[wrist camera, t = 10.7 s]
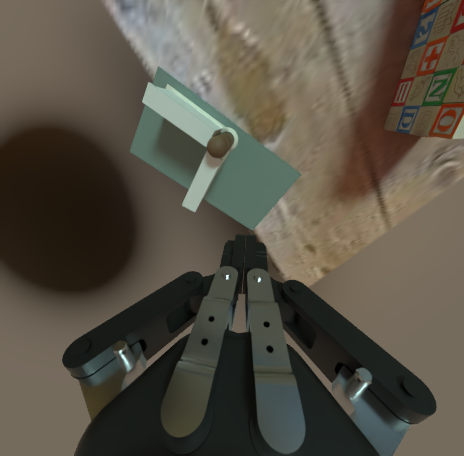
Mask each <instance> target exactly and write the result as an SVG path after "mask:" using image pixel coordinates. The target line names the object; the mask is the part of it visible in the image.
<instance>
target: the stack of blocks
mask: <svg viewBox="0 0 464 456" xmlns="http://www.w3.org/2000/svg"><path fill="white" fill-rule="evenodd" d="M384 130H386V131H393V132H401V133H407V134H411V135H416V136H422V137H441V138H447V139H464V0H425V2H424V6H423V9H422V12H421V18H420V20H419V23H418V26H417V29H416V32H415V36H414V39H413V42H412V45H411V48H410V52H409V55H408V58H407V61H406V64H405V67H404V70H403V73H402V76H401V80H400V81H399V84H398V87H397V90H396V93H395V96H394V99H393V102H392V105H391V108H390V111H389V114H388V117H387V120H386V123H385V126H384Z"/></svg>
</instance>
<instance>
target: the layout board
mask: <svg viewBox="0 0 464 456" xmlns="http://www.w3.org/2000/svg"><path fill="white" fill-rule="evenodd" d="M153 85H154V86H156V87H160V88H164V89H167V90H171V91H173V92H174V93H176V94H177V95H179V96H180V97H181V98H183V99H184V100H185V101H187V102H188V103H189V104H191V105H192V106H193V107H195V108H196V109H197V110H199V111H200V112H201V113H203V114H204V115H205V116H207V117H208V118H210V119H211V120H212V121H214V122H215V123H216V124H218V125H219V126H220V127H222V130H221V132H220V134H221V133H223V132H226V131H228V132H231V133H232V134H233V136H234V143H233V145H232V146H231V147H230V148H229V150H228V152H227V154H226V156H225V158H224V160H223V162H222V164H221V166H220V168H219V170H218V171H217V173H216V175H215V177H214V179H213V181H212V183H211V185H210V187H209V189H208V191H207V193H206V195H205V196H204V198H203V199H204V200H205V201H207V202H208V203H210V204H212V205H213V206H215V207H216V208H218V209H219V210H221V211H222V212H224V213H226V214H227V215H229V216H230V217H232V218H234V219H235V220H236V221H238V222H239V223H241V224H243V225H244V226H246V227H247V228H249V229H250V230H253V229H254V228H255V227H256V226H257V225H258V224H259V222H260V221H261V220H262V219H263V218H264V217H265V215H266V214H267V213H268V212H269V211H270V210H271V209H272V207H273V206H274V205H275V204H276V203H277V202H278V201H279V199H280V198H281V197H282V196H283V195H284V194H285V192H286V191H287V190H288V189H289V188H290V187H291V186H292V184H293V183H294V182H295V181H296V180H297V179H298V178H299V176H300V175H301V174H300V173H299V172H297V171H296V170H295V169H293V168H292V167H291V166H289V165H288V164H287V163H285V162H284V161H283V160H281V159H280V158H279V157H277V156H276V155H275V154H274V153H272V152H271V151H270V150H268V149H267V148H266V147H264V146H263V145H262V144H260V143H259V142H258V141H256V140H255V139H254V138H252V137H251V136H250V135H248V134H247V133H246V132H244V131H243V130H242V129H240V128H239V127H238V126H237V125H235V124H234V123H233V122H231V121H230V120H229V119H227V118H226V117H225V116H223V115H222V114H221V113H219V112H218V111H217V110H215V109H214V108H213V107H211V106H210V105H209V104H207V103H206V102H205V101H203V100H202V99H201V98H200V97H198V96H197V95H196V94H194V93H193V92H192V91H190V90H189V89H188V88H186V87H185V86H184V85H182V84H181V83H180V82H178V81H177V80H176V79H174V78H173V77H172V76H170V75H169V74H168V73H166V72H165V71H164V70H163V69H161V68H160V67H158V69H157V72H156V75H155V78H154V81H153ZM206 151H207V147H205V146H204V145H202V144H201V143H200V142H198V141H197V140H195V139H194V138H192V137H191V136H190V135H188V134H187V133H185V132H184V131H183V130H181V129H180V128H178V127H177V126H175V125H174V124H173V123H171V122H170V121H168V120H167V119H165V118H164V117H163V116H161V115H160V114H158V113H157V112H156V111H154V110H153V109H151V108H150V107H148V106H147V105H146V104H145V107H144V110H143V113H142V116H141V120H140V122H139V125H138V128H137V131H136V134H135V137H134V140H133V143H132V146H131V149H130V152H131V153H132V154H134V155H135V156H137V157H139V158H140V159H142V160H143V161H145V162H146V163H148V164H149V165H151V166H153V167H154V168H156V169H157V170H159V171H160V172H162V173H163V174H165V175H166V176H168V177H170V178H171V179H173V180H174V181H176V182H177V183H179V184H181V185H182V186H184V187H185V188H187V189H188V190H189V188H190V186H191V184H192V182H193V180H194V178H195V175H196V173H197V171H198V169H199V167H200V164H201V162H202V160H203V158H204V156H205V154H206Z"/></svg>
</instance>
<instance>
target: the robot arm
mask: <svg viewBox="0 0 464 456" xmlns="http://www.w3.org/2000/svg"><path fill="white" fill-rule="evenodd" d="M245 237H246V250H245ZM244 254H245V263H244ZM243 268H244V280H243ZM242 282H243V294H246V297H245V298H246V299H245V317H246V318H245V321H246V332H244V333H236V332H233V331H232V328H233V322H234V317H235V312H236V311H235V310H236V306H237V301H238V294H241V293H242ZM192 323H194V325H193V328H192V331H191V333H190V334H188V335H186V336H184V337H183V338H181V339H180V340H179V341H178V342H177V343H175V344H174V345H173V346H172V347H171V348H170V349H169V350H168V351H166V352H165V353H164V354H163V355H162V356H161V357H160V358H159V359H157V360H156V361H155V362H154V363H153V364H152V365H151V366H150V367H148V368H147V369H146V370H145V368H146V363H147V362H146V361H147V360H149V359H150V358H151V357H152V356H153V355H155V354H156V353H157V352H158V351H159V350H161V349H162V348H163V347H164V346H166V345H167V344H168V343H169V342H171V341H172V340H173V339H174V338H175V337H177V336H178V335H179V334H180V333H182V332H183V331H184V330H185V329H186V328H187V327H189V326H190V325H191V324H192ZM283 329H284V330H285V331H286V332H287V333H288V334H289V335H290V337H291V338H292V339H293V340H294V341H295V342H296V343H297V344H298V346H299V347H300V348H301V349H302V350H303V351H304V352H305V353H306V355H307V356H308V357H309V358H310V359H311V360H312V361H313V362H314V363H315V365H316V366H317V367H318V368H319V369H320V370H321V372H322V373H323V374H324V375H325V376H326V377H327V378H328V379H329V381H330V382H331V383H332V392H333V395H334V397H333V396H332V394H331V393H330V392H329V391H328V390H327V388H326V387H325V386H324V385H323V384H322V382H321V381H320V380H319V379H318V377H317V376H316V375H315V374H314V372H313V371H312V370H311V369H310V367H309V366H308V365H307V364H306V362H305V361H304V360H303V359H302V358H301V356H300V355H299V354H298V353H297V352H296V351H295V350H294V349H293V348H292V347H291V346H290V345H288V344H287V343H286V340H285V335H284V330H283ZM62 362H63V364H64V366H65V367H66V368H67V369H68V371H70V373H71V376H72V377H73V378H74V379H75V380H76V381H77V383H79V385H80V386H81V389H82V393H83V396H84V399H85V402H86V405H87V408H88V412H89V415H90V418H91V423H90V424H89V425H88V427H87V429H86V430H85V432H84V434H83V435H82V437H81V439H80V441H79V444H78V446H77V449H76V451H75V454H74V456H393V454H394V452H395V451H396V449H397V447H398V445H399V444H400V442H401V440H402V439H403V437H404V435H405V433H406V432H407V431H408V430H409V429H411V428H412V427H414V426H415V425H417V424H419V423H420V422H421V421H423V420H425V419H426V418H428V417H429V416H431V415H432V414H434V413H435V411H436V401H435V399H434V396H433V394H432V393H431V391H430V390H429V388H428V387H427V386H426V385H425V384H424V383H423V382H422V381H421V380H420V379H419V378H418V377H417V376H415V375H414V374H413V373H412V372H410V371H409V370H408V369H407V368H406V367H404V366H403V365H402V364H401V363H399V362H398V361H397V360H396V359H395V358H393V357H392V356H391V355H390V354H388V353H387V352H386V351H385V350H383V349H382V348H381V347H380V346H379V345H378V344H376V343H375V342H374V341H373V340H371V339H370V338H369V337H368V336H366V335H365V334H364V333H363V332H362V331H360V330H359V329H357V327H355V326H354V325H353V324H352V323H351V322H349V321H348V320H347V319H346V318H344V317H343V316H342V315H341V314H340V313H338V312H337V311H336V310H335V309H333V308H332V307H331V306H330V305H328V304H327V303H326V302H325V301H324V300H322V299H321V298H320V297H319V296H318V295H316V294H315V293H314V292H313V291H311V290H310V289H309V288H308V287H307V286H305V285H304V284H303V283H301V282H299V281H297V280H288V281H286V282H285V283H281V282H278V281H276V280H274V279H273V278H271V277H270V275H269V274H268V266H267V253H266V246H265V245H264V244H263V243H261V242H256V235H240V234H236V238H235V241H230V240H228V242H227V243H226V244H225V246H224V251H223V255H222V259H221V264H220V268H219V269H218V270H217V271H216V273H215V274H213V275H210V276H205V277H202V275H201V274H200V273H198V272H195V271H192V272H187V273H185V274H183V275H181V276H180V277H178V278H176V279H175V280H173V281H172V282H170V283H168V284H167V285H165V286H163V287H162V288H160V289H158V290H157V291H155V292H154V293H152V294H150V295H149V296H147V297H145V298H144V299H142V300H140V301H139V302H137V303H135V304H134V305H132V306H130V307H129V308H127V309H126V310H124V311H122V312H121V313H119V314H117V315H116V316H114V317H112V318H111V319H109V320H107V321H106V322H104V323H103V324H101V325H99V326H98V327H96V328H94V329H93V330H91V331H89V332H88V333H86V334H84V335H83V336H81V337H80V338H78V339H76V340H75V341H74V342H73V343H72V344H71V345H70V346H69V347H68V348H67V349H66V351H65V353H64V355H63V359H62ZM144 370H145V371H144Z"/></svg>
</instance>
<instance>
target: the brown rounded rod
mask: <svg viewBox="0 0 464 456" xmlns="http://www.w3.org/2000/svg"><path fill="white" fill-rule="evenodd" d="M233 143H234V136H233V134H232V133H231V132H228V131H226V132H223V133H221V134H219V135H217V136H213V137H211V138H210V139H209V141H208V143H207V150H208V153H209V154H210V155H211V156H212V157H214V158H221V157H223V156H224V155H225V154H226V153H227V151H228V150H229V148H230V147H231V146H232V145H233Z"/></svg>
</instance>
